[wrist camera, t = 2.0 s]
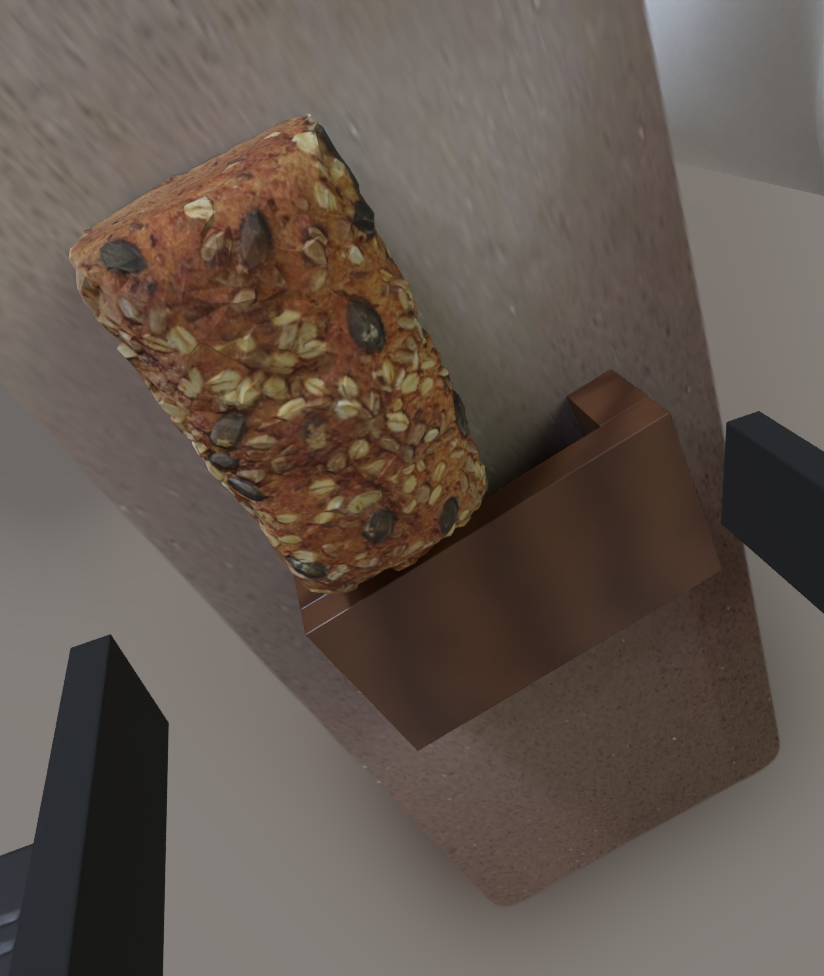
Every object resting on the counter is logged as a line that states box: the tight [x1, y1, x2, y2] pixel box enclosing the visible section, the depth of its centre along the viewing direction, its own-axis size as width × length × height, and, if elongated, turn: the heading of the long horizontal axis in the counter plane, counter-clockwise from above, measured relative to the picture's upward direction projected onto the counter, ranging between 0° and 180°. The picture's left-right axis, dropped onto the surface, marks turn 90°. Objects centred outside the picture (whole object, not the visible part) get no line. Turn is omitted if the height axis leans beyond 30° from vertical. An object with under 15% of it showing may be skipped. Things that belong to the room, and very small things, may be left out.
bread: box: [69, 114, 488, 594], centre depth 31 cm, size 19×11×10 cm, turn 23°
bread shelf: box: [294, 369, 722, 750], centre depth 42 cm, size 22×13×6 cm, turn 118°
